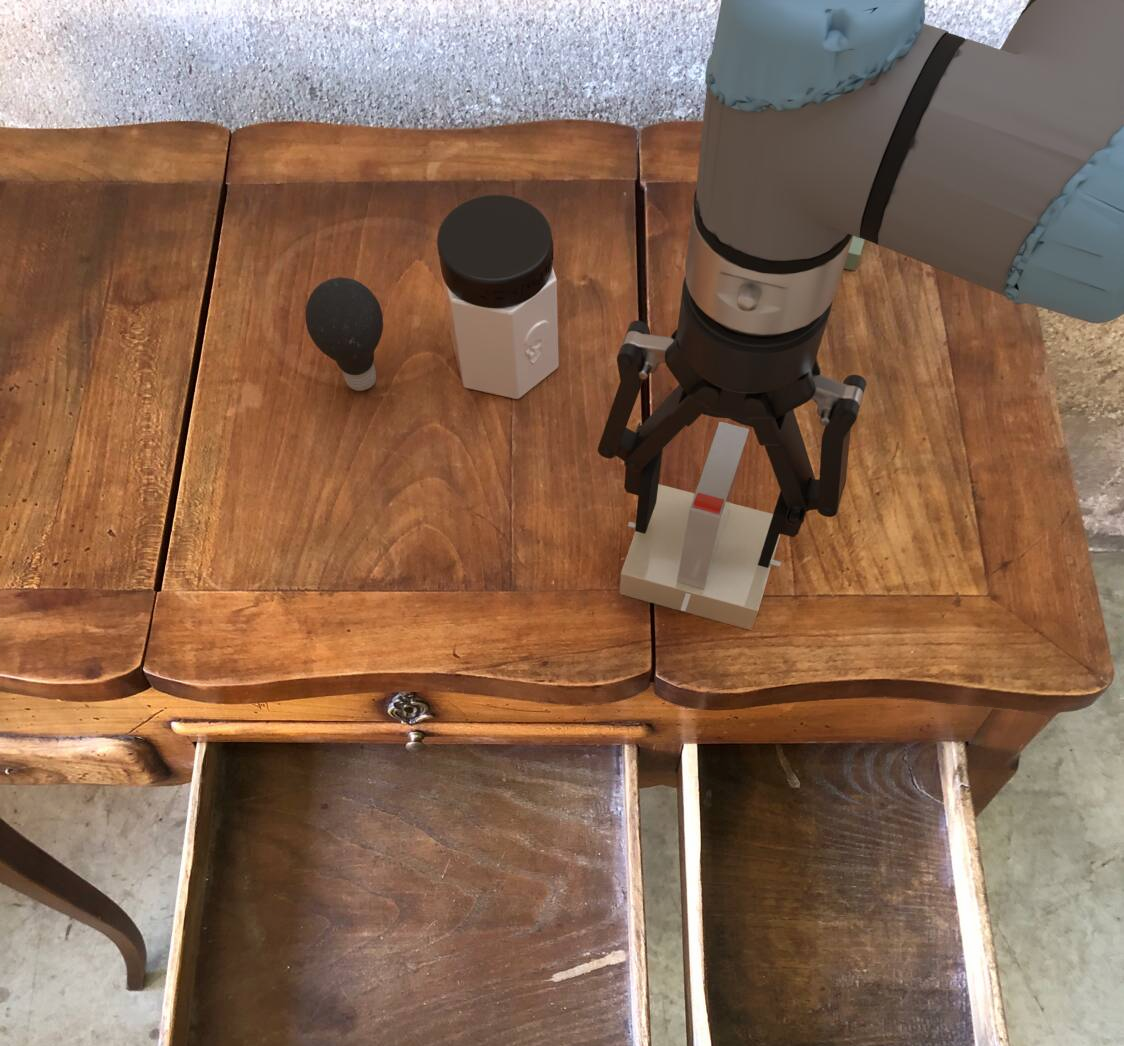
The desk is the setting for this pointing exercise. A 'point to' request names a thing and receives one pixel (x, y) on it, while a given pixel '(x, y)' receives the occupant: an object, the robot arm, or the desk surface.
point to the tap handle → (711, 504)
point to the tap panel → (731, 575)
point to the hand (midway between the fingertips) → (706, 533)
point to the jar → (500, 294)
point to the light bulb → (346, 327)
